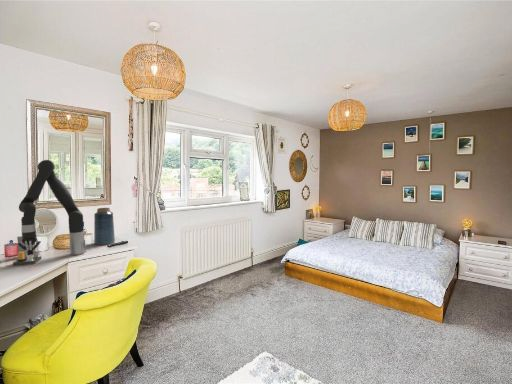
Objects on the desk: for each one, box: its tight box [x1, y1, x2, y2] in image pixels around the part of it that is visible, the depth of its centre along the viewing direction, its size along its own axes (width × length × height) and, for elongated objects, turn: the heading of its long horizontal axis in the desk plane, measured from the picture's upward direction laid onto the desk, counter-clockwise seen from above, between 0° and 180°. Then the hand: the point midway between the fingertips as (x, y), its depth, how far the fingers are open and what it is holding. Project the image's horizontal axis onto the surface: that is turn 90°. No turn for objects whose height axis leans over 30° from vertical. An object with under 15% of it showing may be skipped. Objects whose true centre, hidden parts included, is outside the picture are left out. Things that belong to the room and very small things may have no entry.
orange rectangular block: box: [15, 252, 27, 261], centre depth 185 cm, size 4×4×5 cm
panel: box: [12, 250, 42, 266], centre depth 186 cm, size 12×12×6 cm
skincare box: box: [16, 235, 36, 257], centre depth 199 cm, size 8×7×16 cm
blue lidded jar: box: [93, 207, 116, 246], centre depth 238 cm, size 16×16×32 cm
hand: (30, 255), depth 186 cm, fingers closed
